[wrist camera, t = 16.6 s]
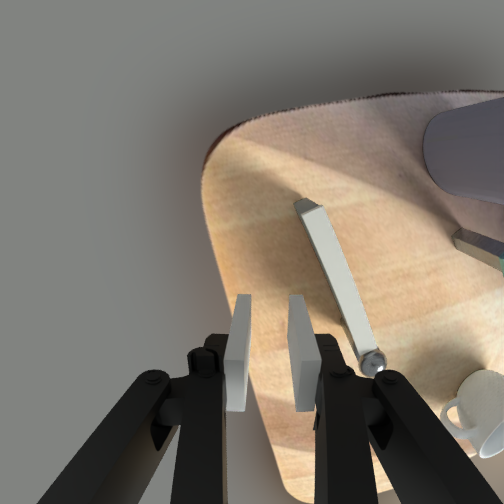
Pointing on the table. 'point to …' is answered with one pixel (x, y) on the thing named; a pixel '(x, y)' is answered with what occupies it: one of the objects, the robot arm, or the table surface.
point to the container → (468, 151)
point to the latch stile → (480, 248)
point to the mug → (479, 412)
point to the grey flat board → (336, 272)
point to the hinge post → (367, 356)
